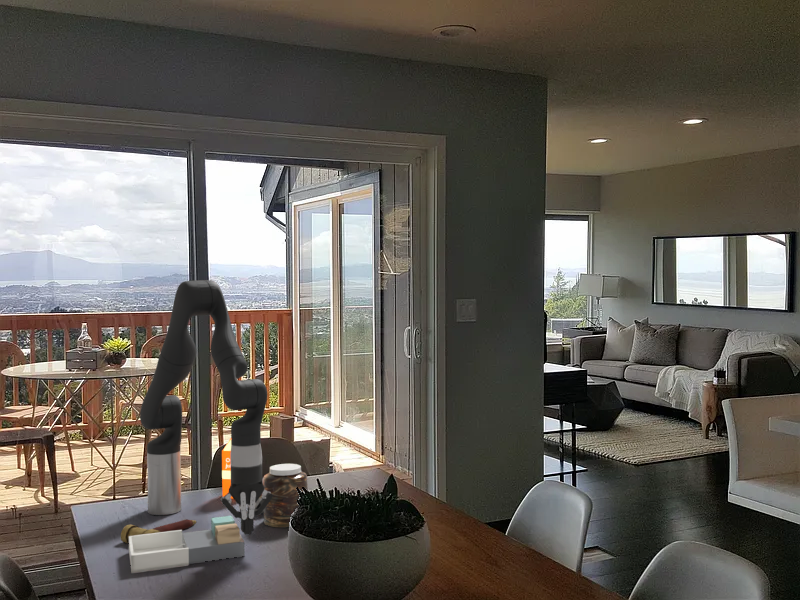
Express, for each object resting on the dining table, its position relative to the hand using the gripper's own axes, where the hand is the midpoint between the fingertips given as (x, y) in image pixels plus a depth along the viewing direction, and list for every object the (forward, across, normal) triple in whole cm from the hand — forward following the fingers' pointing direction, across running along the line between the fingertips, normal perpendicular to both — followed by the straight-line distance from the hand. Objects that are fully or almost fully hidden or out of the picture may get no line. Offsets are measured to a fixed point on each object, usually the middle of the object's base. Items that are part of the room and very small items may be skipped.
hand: (247, 533), depth 186 cm
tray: (+4, +20, -4) cm, 21 cm away
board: (+4, +8, -3) cm, 9 cm away
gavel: (+5, +17, -22) cm, 28 cm away
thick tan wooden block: (+1, +5, 0) cm, 5 cm away
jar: (+5, -14, -20) cm, 25 cm away
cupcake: (+5, -11, -33) cm, 36 cm away
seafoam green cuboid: (+1, +5, -7) cm, 8 cm away
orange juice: (+5, -8, -53) cm, 54 cm away
